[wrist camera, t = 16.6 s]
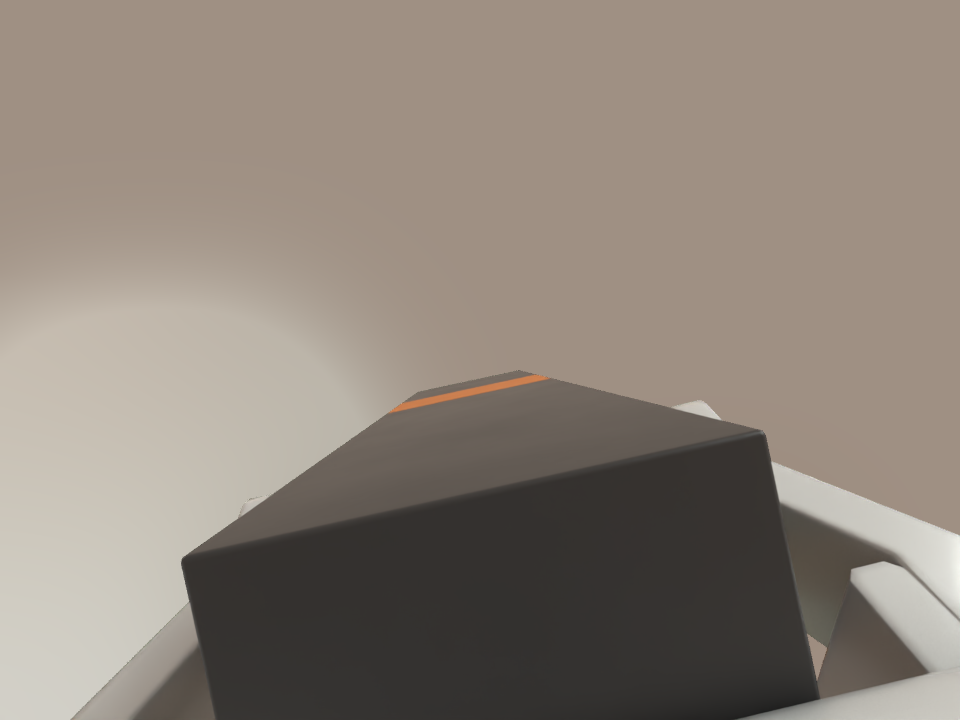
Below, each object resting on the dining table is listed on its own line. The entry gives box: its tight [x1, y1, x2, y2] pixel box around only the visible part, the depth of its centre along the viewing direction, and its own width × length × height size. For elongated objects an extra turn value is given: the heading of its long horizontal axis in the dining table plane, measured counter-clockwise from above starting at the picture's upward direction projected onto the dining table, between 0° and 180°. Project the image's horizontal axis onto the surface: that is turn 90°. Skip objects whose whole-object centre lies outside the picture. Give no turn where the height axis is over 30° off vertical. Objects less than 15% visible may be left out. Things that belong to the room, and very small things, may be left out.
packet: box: [181, 370, 820, 720], centre depth 13 cm, size 18×4×3 cm, turn 1°
